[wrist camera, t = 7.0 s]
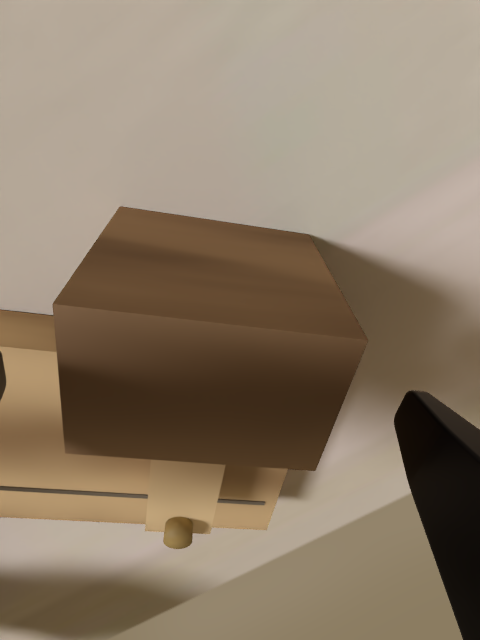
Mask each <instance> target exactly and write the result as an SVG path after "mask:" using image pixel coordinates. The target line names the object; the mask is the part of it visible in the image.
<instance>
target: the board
mask: <svg viewBox="0 0 480 640" xmlns="http://www.w3.org/2000/svg"><path fill="white" fill-rule="evenodd" d="M0 351H1V353H2V356H3V362H4V368H5V374H6V388H5V391H4V394H3V396H2V399H1V401H0V517H11V518H31V519H51V520H72V521H92V522H113V523H133V524H146V514H147V501H148V489H149V477H150V464H151V460H150V459H136V458H121V457H107V456H92V455H78V454H65V447H64V435H63V423H62V411H61V399H60V387H59V375H58V363H57V351H56V339H55V327H54V316H50V315H41V314H32V313H23V312H14V311H5V310H0ZM287 471H288V469H280V468H266V467H251V466H237V465H226V466H225V470H224V475H223V479H222V484H221V488H220V492H219V497H218V501H217V506H216V510H215V514H214V519H213V523H212V527H215V528H235V529H256V530H267V527H268V525H269V522H270V519H271V516H272V513H273V510H274V508H275V505H276V502H277V499H278V496H279V493H280V491H281V488H282V485H283V482H284V479H285V476H286V474H287Z"/></svg>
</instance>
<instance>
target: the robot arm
mask: <svg viewBox="0 0 480 640" xmlns="http://www.w3.org/2000/svg"><path fill="white" fill-rule="evenodd" d="M5 388H6V374H5V368H4V362H3V356H2V353H1V351H0V401H1V399H2V396H3V394H4V391H5ZM394 425H395V430H396V434H397V438H398V442H399V447H400V451H401V455H402V459H403V463H404V467H405V472H406V476H407V479H408V483H409V486H410V489H411V492H412V495H413V498H414V501H415V504H416V507H417V510H418V512H419V515H420V518H421V521H422V524H423V527H424V529H425V532H426V535H427V538H428V541H429V544H430V547H431V549H432V552H433V555H434V558H435V561H436V564H437V566H438V569H439V572H440V575H441V578H442V581H443V584H444V586H445V589H446V592H447V595H448V598H449V600H450V603H451V606H452V609H453V612H454V615H455V618H456V620H457V623H458V626H459V629H460V632H461V635H462V638H463V640H480V430H479V429H478V428H476V427H475V426H474V425H472V424H471V423H469V422H468V421H467V420H465V419H464V418H462V417H461V416H460V415H458V414H457V413H456V412H454V411H453V410H451V409H450V408H449V407H447V406H446V405H444V404H443V403H442V402H440V401H439V400H437V399H436V398H435V397H433V396H432V395H431V394H429V393H427V392H424V391H414V390H411V391H408V392H407V393H406V395H405V397H404V398H403V400H402V402H401V404H400V406H399V408H398V410H397V412H396V414H395V418H394Z"/></svg>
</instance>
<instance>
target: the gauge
mask: <svg viewBox="0 0 480 640" xmlns="http://www.w3.org/2000/svg"><path fill="white" fill-rule="evenodd" d="M53 315H54V327H55V339H56V351H57V363H58V375H59V387H60V399H61V411H62V423H63V435H64V447H65V454H78V455H92V456H107V457H121V458H136V459H150V460H151V464H150V477H149V489H148V501H147V514H146V526H145V531H156V532H164V540H163V541H164V544H165V545H166V546H168V547H170V548H174V549H182V548H186V547H188V546H189V545H190V544H191V543H192V533H199V534H210V532H211V528H212V523H213V519H214V514H215V510H216V506H217V501H218V497H219V492H220V488H221V484H222V479H223V475H224V470H225V466H226V465H237V466H251V467H266V468H280V469H295V470H309V471H315V470H316V468H317V465H318V463H319V461H320V458H321V456H322V453H323V451H324V448H325V446H326V443H327V441H328V438H329V436H330V433H331V431H332V428H333V426H334V424H335V421H336V419H337V416H338V414H339V411H340V409H341V406H342V404H343V401H344V399H345V396H346V394H347V391H348V389H349V387H350V384H351V382H352V379H353V377H354V374H355V372H356V369H357V367H358V364H359V362H360V359H361V357H362V354H363V352H364V350H365V347H366V345H367V342H368V339H367V337H366V336H365V334H364V332H363V330H362V328H361V327H360V325H359V323H358V321H357V319H356V318H355V316H354V314H353V312H352V310H351V309H350V307H349V305H348V303H347V302H346V300H345V298H344V296H343V294H342V293H341V291H340V289H339V287H338V285H337V284H336V282H335V280H334V278H333V276H332V275H331V273H330V271H329V269H328V268H327V266H326V264H325V262H324V260H323V259H322V257H321V255H320V253H319V251H318V250H317V248H316V246H315V244H314V242H313V241H312V239H311V237H310V235H308V234H301V233H295V232H288V231H281V230H275V229H268V228H261V227H254V226H248V225H241V224H234V223H227V222H221V221H214V220H207V219H201V218H194V217H187V216H180V215H174V214H167V213H160V212H153V211H147V210H140V209H133V208H127V207H119V208H118V210H117V211H116V213H115V214H114V216H113V217H112V219H111V220H110V221H109V223H108V224H107V226H106V227H105V229H104V230H103V232H102V233H101V235H100V236H99V237H98V239H97V240H96V242H95V243H94V245H93V246H92V248H91V249H90V250H89V252H88V253H87V255H86V256H85V258H84V259H83V261H82V262H81V264H80V265H79V266H78V268H77V269H76V271H75V272H74V274H73V275H72V277H71V278H70V280H69V281H68V282H67V284H66V285H65V287H64V288H63V290H62V291H61V293H60V294H59V295H58V297H57V298H56V300H55V301H54V303H53Z"/></svg>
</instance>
